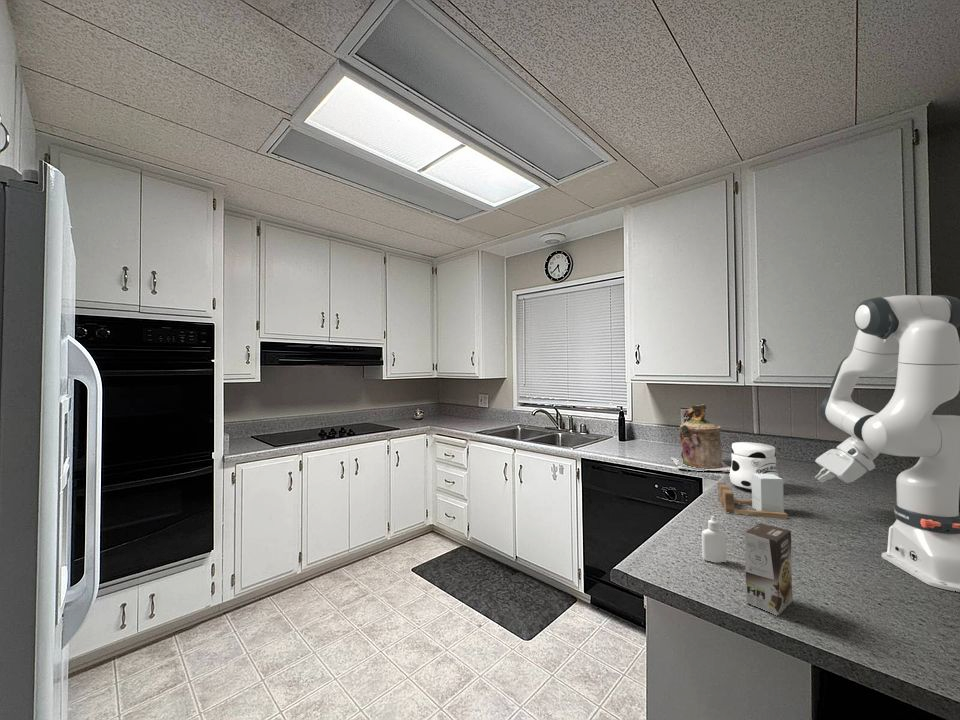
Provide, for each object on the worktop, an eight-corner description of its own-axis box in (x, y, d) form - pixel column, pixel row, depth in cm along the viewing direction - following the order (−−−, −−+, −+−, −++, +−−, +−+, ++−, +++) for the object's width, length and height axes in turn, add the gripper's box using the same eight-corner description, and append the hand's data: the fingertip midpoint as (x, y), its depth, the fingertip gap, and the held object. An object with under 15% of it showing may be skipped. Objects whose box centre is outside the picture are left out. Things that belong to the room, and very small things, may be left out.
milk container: (779, 498, 160) (777, 451, 160) (727, 490, 170) (726, 447, 170) (780, 486, 173) (779, 444, 173) (732, 480, 184) (731, 440, 184)
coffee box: (778, 617, 87) (776, 541, 87) (744, 603, 92) (743, 531, 92) (794, 602, 92) (792, 530, 92) (761, 589, 97) (759, 521, 97)
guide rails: (787, 519, 139) (787, 514, 139) (726, 513, 145) (726, 509, 145) (775, 506, 151) (774, 502, 151) (719, 501, 157) (719, 497, 157)
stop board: (734, 514, 144) (733, 494, 144) (725, 513, 145) (725, 493, 145) (726, 501, 156) (725, 483, 157) (718, 501, 157) (718, 483, 157)
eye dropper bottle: (704, 554, 115) (703, 511, 115) (727, 560, 112) (726, 516, 112) (700, 560, 112) (699, 516, 112) (724, 566, 108) (723, 521, 108)
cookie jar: (720, 461, 217) (719, 401, 217) (736, 474, 193) (734, 406, 193) (669, 459, 223) (668, 401, 223) (678, 471, 200) (677, 406, 200)
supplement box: (784, 515, 142) (784, 479, 142) (760, 514, 143) (760, 478, 144) (774, 508, 149) (773, 473, 149) (751, 507, 151) (750, 472, 151)
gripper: (831, 440, 149) (799, 465, 152) (860, 454, 129) (822, 482, 133) (846, 453, 147) (813, 478, 151) (878, 469, 128) (839, 497, 132)
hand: (818, 480), depth 142 cm, fingers closed
